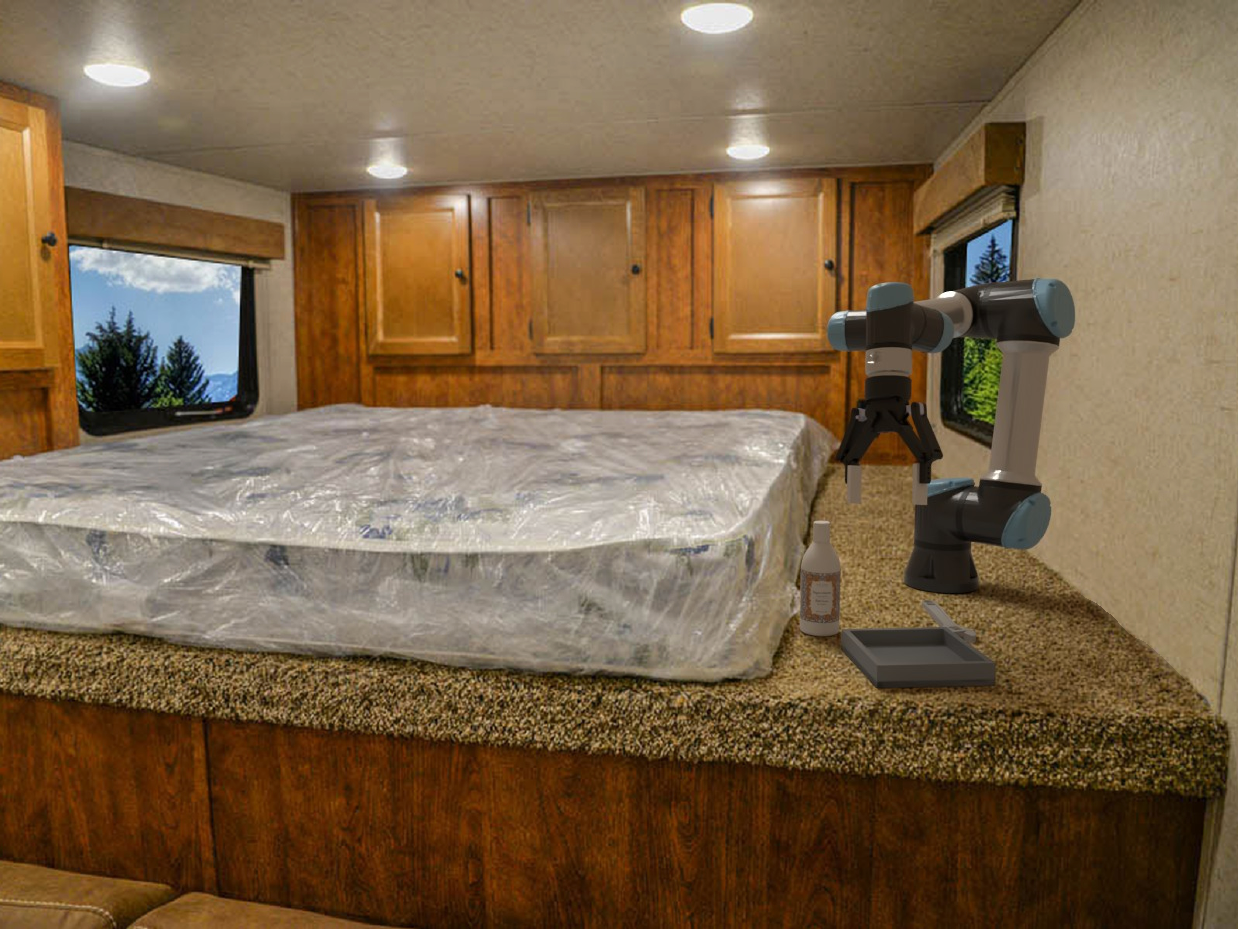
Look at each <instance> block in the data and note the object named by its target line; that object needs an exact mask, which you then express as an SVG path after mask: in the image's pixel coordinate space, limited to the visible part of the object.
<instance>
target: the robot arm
mask: <svg viewBox="0 0 1238 929" xmlns="http://www.w3.org/2000/svg"><path fill="white" fill-rule="evenodd" d="M1075 322H1076V308H1075V302H1074V298H1073V295H1072V292H1071V290H1070V289H1069V287H1068V286H1067V285H1066V283H1064V282H1063V281H1062V280H1060V279H1056V278H1041V277H1040V278H1039V277H1038V278H1033V279H1032V278H1031V279H1022V280H1021V279H1019V280H1009V281H999V282H998V281H997V282H996V281H994V282H993V281H992V282H985V283H984V282H983V283H979V284H976V285H971V286H968V287H964V288H960V289H956V290H953V291H946V292H943V293H941V294H939V295H938V296H936V298H933V299H925V300H918V301H915V296H914V289H913V287H912V286H911V285H910V284H909V283H905V282H898V281H897V282H895V281H893V282H892V281H891V282H883V283H877V284H875V285H873V286H871V287H870V288H869V289H868V291H867V296H866V305H865V309H856V310H852V309H847V310H843V311H842V310H841V311H836V312H835V313H834V314H832V315H831V317H830V318H829V320H828V323H827V327H826V332H827V336H826V337H827V340H828V343H829V344H830V346H831V348H833V349H834V350H836V351H840V352H848V353H851V352H865V359H864V360H865V363H864V366H865V368H864V369H865V370H864V372H865V373H864V374H865V375H866V376H867V377H866V379H864V393H863V394H864V399H865V400H866V407H865V408H861V407H860V408H859V407H852V408H851V410H850V419H849V422H848V425H847V427H846V429H845V432H844V435H843V438H842V440H841V443H840V444H839V448H838V450H837V452H836V455H835V461H836V462H838V463H842V464H843V465H844V483H845V485H846V490H847V491H846V504H858V505H859V504H862V477H863V476H862V475H863V474H862V468H863V467H862V465H861V464H860V461H862V458H863V457H864V455H865V454H866V452H867V451H868V450H869V448H870V446H871V444H872V443H873V442H874V441H875V439H876V438H877V437H879V435H881V434H888V433H896V434H898V435H899V436H900V438H901V440H902V441H903V442H904V444H905V445H906V447H907V448H908V449H909V451H910V453H912V455H913V456H914V458H915V459H916V460H915V461H914V462H915V463H912V489H911V490H912V492H911V493H912V494H911V496H912V498H911V501H912V502H911V505H914V528H913V529H914V533H913V549H912V552H911V554H910V557H909V560H908V561H907V565H906V567H905V570H904V574H903V575H904V576H903V583H904V584H905V585H907V586H908V587H910V588H913V589H917V590H921V591H925V592H926V591H927V592H932V593H933V592H934V593H943V594H945V593H946V594H961V593H963V594H964V593H969V592H970V593H971V592H974V591H976V590H978V589H979V582H980V581H979V580H980V578H979V574H978V571H977V568H976V567H977V566H976V564H975V560H974V557H973V552H972V543H975V544H982V545H986V546H987V545H988V546H994V547H1000V548H1004V549H1008V550H1009V549H1010V550H1011V549H1013V550H1015V549H1016V550H1022V551H1023V550H1030V549H1032V548H1034V547H1035V546H1037V545H1038V544H1039V543H1040V541H1041V540H1042V539H1043V538H1044V536H1045V534H1046V532H1047V530H1048V528H1049V524H1050V521H1051V516H1052V506H1051V500H1050V498H1049V496H1047V495H1046V494H1045V493H1043V492H1042V487H1043V484H1042V483H1041V481H1040V480H1039V479H1038V478H1037V476H1036V470H1037V469H1036V468H1037V459H1038V452H1039V445H1040V444H1039V443H1040V435H1041V429H1042V420H1043V419H1042V418H1043V414H1044V413H1043V412H1044V405H1045V395H1046V389H1047V380H1048V372H1049V371H1048V370H1049V363H1050V357H1051V356H1052V355H1053V354H1054V353H1056V352H1057V351H1058V350H1059V349H1060V342H1061V339H1066V338H1068V337H1069V336H1070V335H1071V334H1072V332H1073V329H1074V327H1075ZM955 338H956V339H957V338H972V339H973V338H974V339H985V340H986V339H989V340H991V339H992V340H994V339H995V340H996V341H995V342H996V343H995V344H996V345H995V346H996V347H997V348H998V349H999V351H1000V352H1001V353H1002V358H1001V359H1002V360H1001V370H1000V378H999V384H998V393H997V402H996V407H995V408H996V410H995V418H994V424H993V435H992V440H991V441H992V443H991V449H990V459H989V467H988V470H987V472H985V473H983V475H981V476H980V477H979V484H978V486H975V485H976V482H975V480H974V478H973V477H948V478H947V477H946V478H937V479H932V466H933V465H932V464H933V462H936V461H938V460H942V459H943V457H944V454H943V451H942V449H941V446H940V443H939V441H938V439H937V437H936V435H935V431H934V429H933V428H932V424H931V422H930V419H929V418H928V408H927V404H926V403H923V402H917V401H913V402H911V403H910V400H911V399H912V388H913V387H912V385H913V384H912V383H913V382H912V378H911V377H910V375H912V374H913V351H915V352H920V353H922V354H938V353H941V352H942V351H944V350H946V349H947V348H948V347H949V346H950V344H951V343H952V340H953V339H955ZM910 416H911V420H912V422H913V425H914V427H915V430H916V432H917V434H916V432H915V431H914V427H913V426H912V424H911V423H910V421H909V417H910Z"/></svg>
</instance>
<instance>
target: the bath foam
mask: <svg viewBox="0 0 1238 929" xmlns="http://www.w3.org/2000/svg"><path fill="white" fill-rule="evenodd" d="M812 528H813V529H812V531H813V532H812V542H811V544H810V545H809V546H808V547H807V549H806V550H805V552H804V554H803V558H802V560H801V565H800V589H799V590H800V591H799V592H800V593H799V595H800V598H799V599H800V600H799V602H800V603H799V605H800V606H799V629H800V631H801V632H802V633H803V634H805V635H809V636H815V637H831V636H835V635H837V634H838V633H839V632H840V616H841V614H840V611H841V610H840V609H841V606H840V605H841V578H842V577H841V573H842V572H841V562H840V559H839V556H838V554H837V552H836V550H835V549H834V547H833V545H832V544H831V542H830V540H831V522H830V521H828V520H815V521H814V520H813V526H812Z"/></svg>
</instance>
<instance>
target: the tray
mask: <svg viewBox="0 0 1238 929" xmlns="http://www.w3.org/2000/svg"><path fill="white" fill-rule="evenodd" d="M840 642H841V644H840V649H841V651H842V652H843V653H844V655H846V657H847V658H848V659H850V661H851V662H852V663H853V664H854V665H855V666H856V667H857V668H858V669H859V670H860V672H862V674H863V675H864V676H865V677H866V679H868V680H869V681H870V682H871V684H872V686H874V687H875V688H876V689H890V688H891V689H892V688H894V689H895V688H897V689H898V688H900V689H901V688H937V687H939V688H941V687H942V688H943V687H949V688H950V687H983V686H984V687H986V686H990V687H991V686H996V664H997V663H996V662H995V661H994V660H993V659H991V658H990V657H988V656H987V655H986V654H984V653H983V652H981V651H980V650H979V649H977V648H976V647H974V645H972V644H971V643H970V642H968V641H966V640H964V639H963V638H961V637H959V636H958V635H957V634H955V633H954V632H953V631H951V630H950V629H948V628H947V627H940V626H936V627H935V626H934V627H930V626H929V627H928V626H926V627H925V626H924V627H923V626H921V627H886V628H885V627H879V628H877V627H875V628H872V627H871V628H841V641H840Z"/></svg>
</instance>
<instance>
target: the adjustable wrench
mask: <svg viewBox="0 0 1238 929" xmlns="http://www.w3.org/2000/svg"><path fill="white" fill-rule="evenodd" d="M921 607H922V608H923V609H924V611H926V612H927V613H928V615H929V616H930V617H931V618H932V620H934V621H935V623H936V624H937V625H938V627H947V628H948V629H950V630H951V631H953V632H954V633H955V634H957V635H958V636H959V637H961V638H962V639H964V640H965V641H966V642H968V643H969V644H975V643H976V641H977V633H976V632H975V631H976V630H975V629H974V628H967V627H964V626H962V625H958V624H957V623H956V622H955V621H953V619H952V618H951V617H950V616H949V615H948V613H946V611H945V610H944V609H943V608H942V607H941V606H940V604H939V603H938V602H937V601H936V600H933V599H923V600H922V601H921Z"/></svg>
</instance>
